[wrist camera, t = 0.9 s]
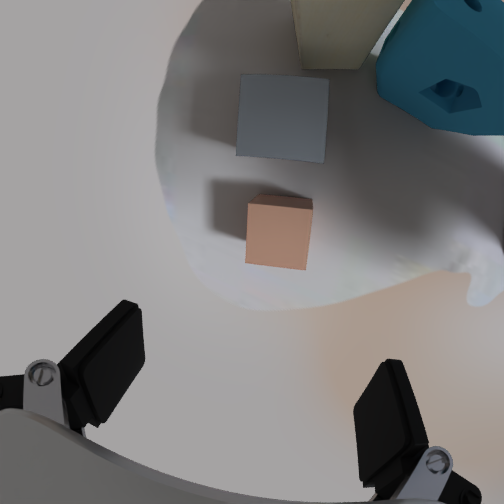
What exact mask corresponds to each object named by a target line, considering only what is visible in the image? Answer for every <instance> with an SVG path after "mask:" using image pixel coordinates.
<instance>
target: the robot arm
mask: <svg viewBox="0 0 504 504" xmlns="http://www.w3.org/2000/svg"><path fill="white" fill-rule="evenodd" d="M144 362H145V351H144V339H143V326H142V311H141V309H140V308H138V305H137V304H136V303H133V302H130V301H127V300H122V301H121V302H120V303H119V304H118V305H117V306H116V307H115V308H114V309H113V310H112V311H110V312H109V313H108V314H107V315H106V316H105V317H104V318H103V319H102V320H101V321H100V322H99V323H98V324H97V325H96V326H95V327H94V328H93V329H92V330H91V331H90V332H89V333H88V334H87V335H86V336H85V337H84V338H83V339H82V340H81V341H80V342H79V343H78V344H77V345H76V346H75V347H74V348H73V349H72V350H71V351H70V352H69V353H68V354H67V355H66V356H65V357H64V358H63V359H62V360H61V361H60V362H59V363H58V364H57V365H56V364H55V363H53V362H52V361H50V360H46V359H41V360H36V361H34V362H32V363H31V364H30V365H29V366H28V367H27V369H26V370H25V374H24V375H13V376H2V377H0V504H481V500H482V496H481V492H480V490H479V488H477V487H476V486H475V485H474V484H472V483H470V482H469V481H467V480H466V479H464V478H463V477H461V476H460V475H458V474H457V473H455V472H454V471H452V467H453V459H452V457H451V455H450V453H449V452H448V451H447V450H446V449H444V448H442V447H440V446H433V447H430V448H429V445H428V443H429V441H428V438H427V435H426V431H425V427H424V424H423V421H422V417H421V414H420V411H419V408H418V405H417V402H416V399H415V396H414V393H413V390H412V387H411V384H410V381H409V379H408V376H407V373H406V370H405V368H404V365H403V363H402V361H401V360H395V359H387V360H386V361H385V362H382V363H381V364H380V366H379V367H378V369H377V371H376V372H375V374H374V376H373V377H372V379H371V381H370V382H369V384H368V386H367V387H366V389H365V390H364V392H363V393H362V395H361V397H360V398H359V400H358V401H357V403H356V404H355V406H354V411H353V414H354V422H355V432H356V442H357V453H358V466H359V478H360V481H363V488H365V487H366V488H367V487H375V494H374V495H373V496H372V498H371V499H370V500H369V501H368V502H343V503H321V502H300V501H287V500H278V499H269V498H262V497H255V496H249V495H244V494H238V493H233V492H229V491H224V490H219V489H215V488H211V487H208V486H204V485H200V484H196V483H193V482H190V481H186V480H183V479H180V478H177V477H174V476H171V475H168V474H165V473H162V472H159V471H157V470H154V469H152V468H149V467H147V466H144V465H141V464H139V463H137V462H134V461H132V460H130V459H128V458H125V457H123V456H121V455H119V454H117V453H115V452H113V451H111V450H108V449H106V448H104V447H102V446H100V445H98V444H96V443H95V442H92V441H91V440H89V439H87V438H86V435H85V430H84V427H85V426H86V424H87V423H90V424H91V425H93V426H95V427H97V428H98V427H99V425H100V424H101V423H105V422H106V421H107V419H108V418H109V416H110V415H111V413H112V412H113V410H114V409H115V407H116V406H117V404H118V403H119V401H120V400H121V398H122V397H123V395H124V394H125V392H126V391H127V389H128V388H129V386H130V385H131V383H132V382H133V380H134V379H135V377H136V376H137V374H138V373H139V371H140V370H141V368H142V367H143V365H144Z"/></svg>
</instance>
